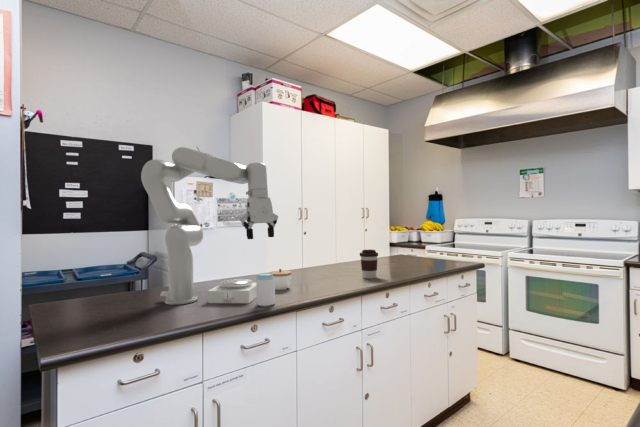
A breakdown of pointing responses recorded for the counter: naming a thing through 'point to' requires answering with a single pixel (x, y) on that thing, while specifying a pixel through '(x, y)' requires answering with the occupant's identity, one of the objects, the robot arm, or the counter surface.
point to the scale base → (232, 294)
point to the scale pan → (235, 283)
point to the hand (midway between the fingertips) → (260, 238)
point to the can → (265, 289)
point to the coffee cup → (369, 263)
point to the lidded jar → (282, 279)
